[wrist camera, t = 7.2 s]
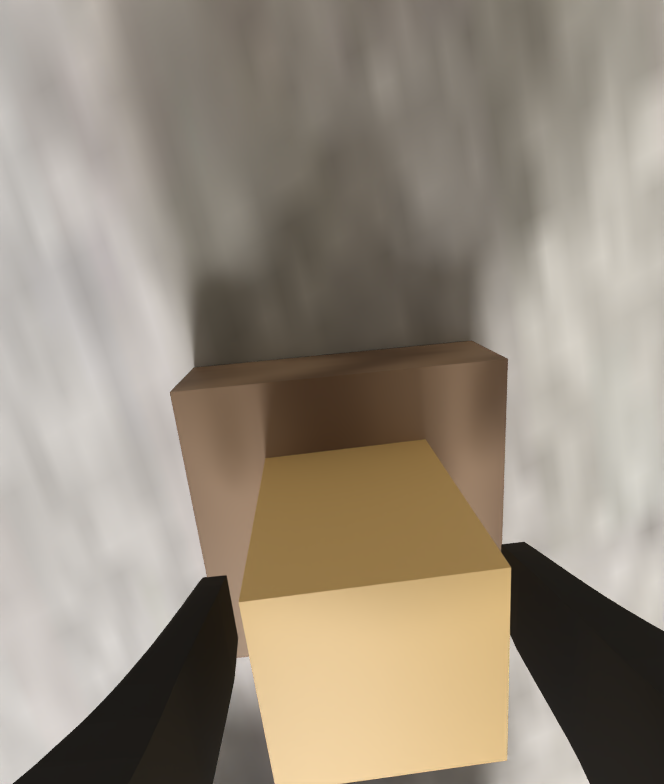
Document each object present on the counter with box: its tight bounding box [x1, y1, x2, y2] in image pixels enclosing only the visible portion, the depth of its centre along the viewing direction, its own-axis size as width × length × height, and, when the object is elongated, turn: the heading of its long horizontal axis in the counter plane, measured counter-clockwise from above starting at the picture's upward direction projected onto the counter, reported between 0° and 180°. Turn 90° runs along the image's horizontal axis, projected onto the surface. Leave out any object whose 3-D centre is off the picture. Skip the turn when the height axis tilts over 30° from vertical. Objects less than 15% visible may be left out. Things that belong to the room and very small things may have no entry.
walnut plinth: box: [170, 341, 508, 658], centre depth 16 cm, size 10×10×3 cm
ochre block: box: [239, 439, 511, 784], centre depth 12 cm, size 5×5×6 cm
